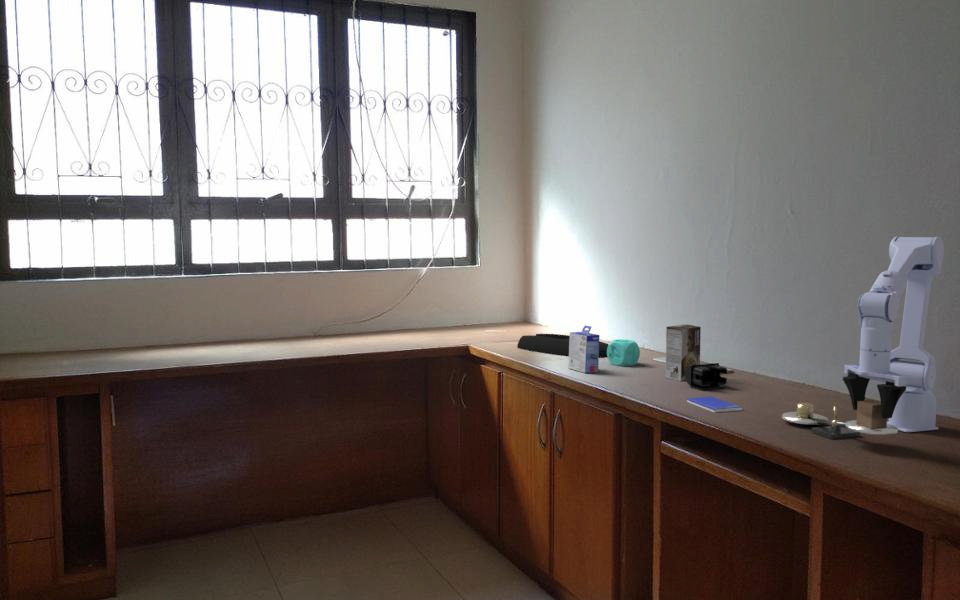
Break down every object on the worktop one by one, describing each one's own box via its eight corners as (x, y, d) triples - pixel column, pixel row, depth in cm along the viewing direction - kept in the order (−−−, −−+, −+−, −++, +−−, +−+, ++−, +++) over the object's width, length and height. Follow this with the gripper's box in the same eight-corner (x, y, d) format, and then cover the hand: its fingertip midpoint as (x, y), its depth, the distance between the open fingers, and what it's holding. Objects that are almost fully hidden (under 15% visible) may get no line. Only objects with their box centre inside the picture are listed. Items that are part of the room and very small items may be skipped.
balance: (806, 417, 186) (808, 391, 185) (908, 450, 158) (910, 420, 157) (772, 419, 183) (773, 393, 182) (869, 454, 155) (871, 424, 154)
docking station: (588, 361, 266) (588, 347, 265) (506, 348, 296) (506, 335, 295) (630, 354, 283) (631, 340, 282) (549, 342, 312) (549, 330, 312)
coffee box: (683, 374, 240) (684, 324, 239) (700, 378, 235) (701, 326, 234) (664, 378, 235) (665, 326, 233) (681, 381, 230) (682, 328, 228)
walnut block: (871, 422, 163) (872, 400, 163) (886, 427, 159) (887, 404, 159) (856, 424, 162) (857, 401, 161) (871, 429, 158) (872, 405, 158)
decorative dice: (624, 367, 253) (625, 343, 252) (606, 363, 259) (606, 340, 259) (639, 364, 258) (640, 341, 257) (621, 361, 264) (622, 338, 264)
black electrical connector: (711, 384, 226) (712, 361, 226) (727, 388, 220) (728, 365, 219) (684, 386, 223) (684, 363, 222) (699, 391, 216) (700, 367, 216)
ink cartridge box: (599, 372, 244) (600, 327, 242) (585, 373, 241) (586, 328, 240) (581, 367, 252) (582, 324, 251) (567, 368, 250) (568, 325, 248)
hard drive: (742, 406, 193) (713, 396, 205) (714, 408, 190) (686, 398, 202) (742, 412, 193) (713, 401, 205) (714, 414, 191) (686, 403, 202)
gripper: (834, 345, 165) (831, 407, 166) (888, 356, 151) (884, 423, 152) (860, 344, 167) (857, 405, 168) (916, 354, 153) (912, 420, 154)
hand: (872, 413), depth 160 cm, fingers open, 7 cm apart
